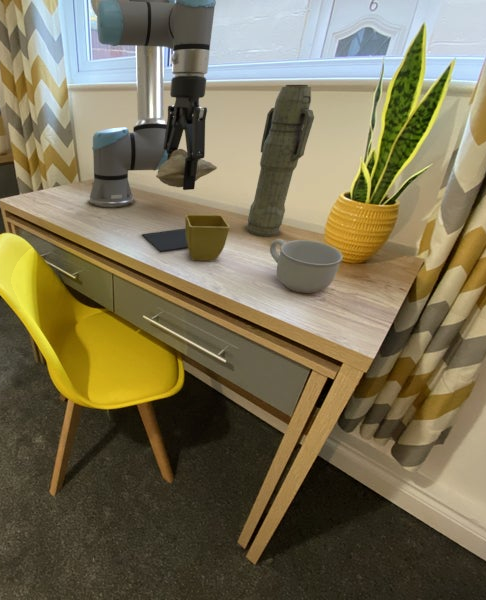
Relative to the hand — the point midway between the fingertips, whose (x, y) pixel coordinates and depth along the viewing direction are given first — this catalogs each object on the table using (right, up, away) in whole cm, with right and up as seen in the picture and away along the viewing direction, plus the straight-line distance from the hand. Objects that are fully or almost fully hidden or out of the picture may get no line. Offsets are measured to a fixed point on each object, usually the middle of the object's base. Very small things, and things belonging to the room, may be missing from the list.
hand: (179, 184), depth 83 cm
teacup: (+22, -25, -14) cm, 36 cm away
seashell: (0, 0, 0) cm, 0 cm away
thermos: (+26, -9, +12) cm, 30 cm away
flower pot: (+5, -19, -3) cm, 20 cm away
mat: (0, -13, +6) cm, 14 cm away
